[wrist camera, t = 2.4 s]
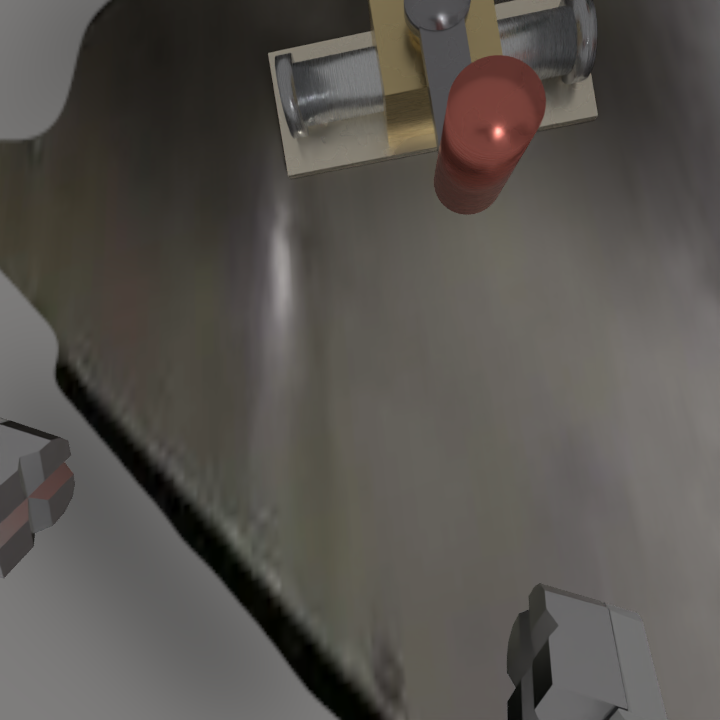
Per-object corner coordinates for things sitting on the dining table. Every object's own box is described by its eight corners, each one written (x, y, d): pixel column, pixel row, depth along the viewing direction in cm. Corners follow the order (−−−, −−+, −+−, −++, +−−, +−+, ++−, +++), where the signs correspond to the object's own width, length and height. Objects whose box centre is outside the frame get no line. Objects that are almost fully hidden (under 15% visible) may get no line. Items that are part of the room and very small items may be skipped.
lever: (398, -16, 31) (396, -198, 20) (463, -30, 30) (492, -221, 20) (438, 224, 30) (455, 160, 20) (503, 213, 30) (553, 142, 20)
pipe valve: (573, -6, 39) (623, -111, 30) (594, 120, 39) (650, 51, 30) (270, 58, 40) (233, -24, 32) (290, 179, 40) (258, 130, 32)
